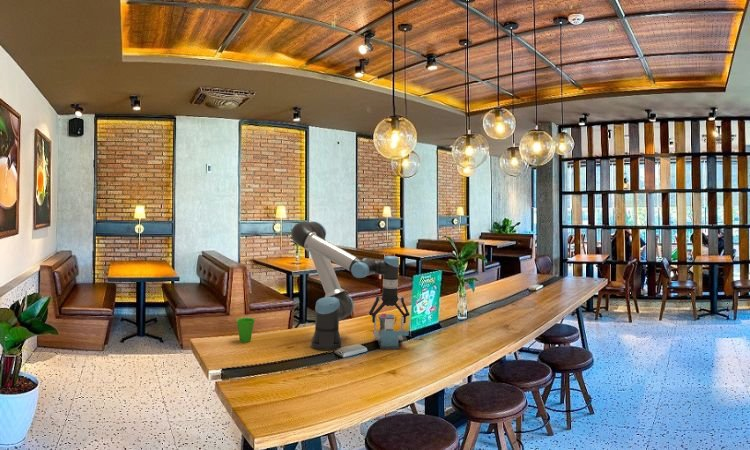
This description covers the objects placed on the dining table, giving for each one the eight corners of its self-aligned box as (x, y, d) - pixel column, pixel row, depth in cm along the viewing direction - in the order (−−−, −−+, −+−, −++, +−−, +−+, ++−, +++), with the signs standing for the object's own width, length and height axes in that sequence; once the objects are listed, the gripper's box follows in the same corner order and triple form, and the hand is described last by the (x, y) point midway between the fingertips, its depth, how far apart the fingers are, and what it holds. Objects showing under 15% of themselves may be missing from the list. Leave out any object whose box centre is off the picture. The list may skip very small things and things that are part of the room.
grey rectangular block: (385, 344, 235) (385, 321, 234) (384, 342, 239) (384, 319, 238) (393, 345, 235) (393, 321, 234) (392, 342, 239) (392, 319, 238)
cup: (258, 341, 239) (258, 320, 238) (242, 345, 232) (242, 323, 232) (248, 337, 245) (248, 316, 245) (232, 341, 238) (232, 319, 238)
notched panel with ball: (375, 349, 232) (376, 327, 231) (372, 339, 248) (373, 319, 248) (408, 349, 233) (408, 327, 232) (403, 339, 249) (404, 319, 249)
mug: (385, 338, 251) (385, 318, 251) (373, 334, 258) (374, 315, 258) (401, 334, 259) (402, 315, 259) (390, 330, 266) (390, 312, 266)
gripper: (365, 288, 231) (364, 330, 232) (416, 289, 233) (414, 331, 234) (364, 285, 238) (363, 326, 239) (413, 286, 240) (412, 327, 241)
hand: (388, 329), depth 237 cm, fingers open, 13 cm apart
